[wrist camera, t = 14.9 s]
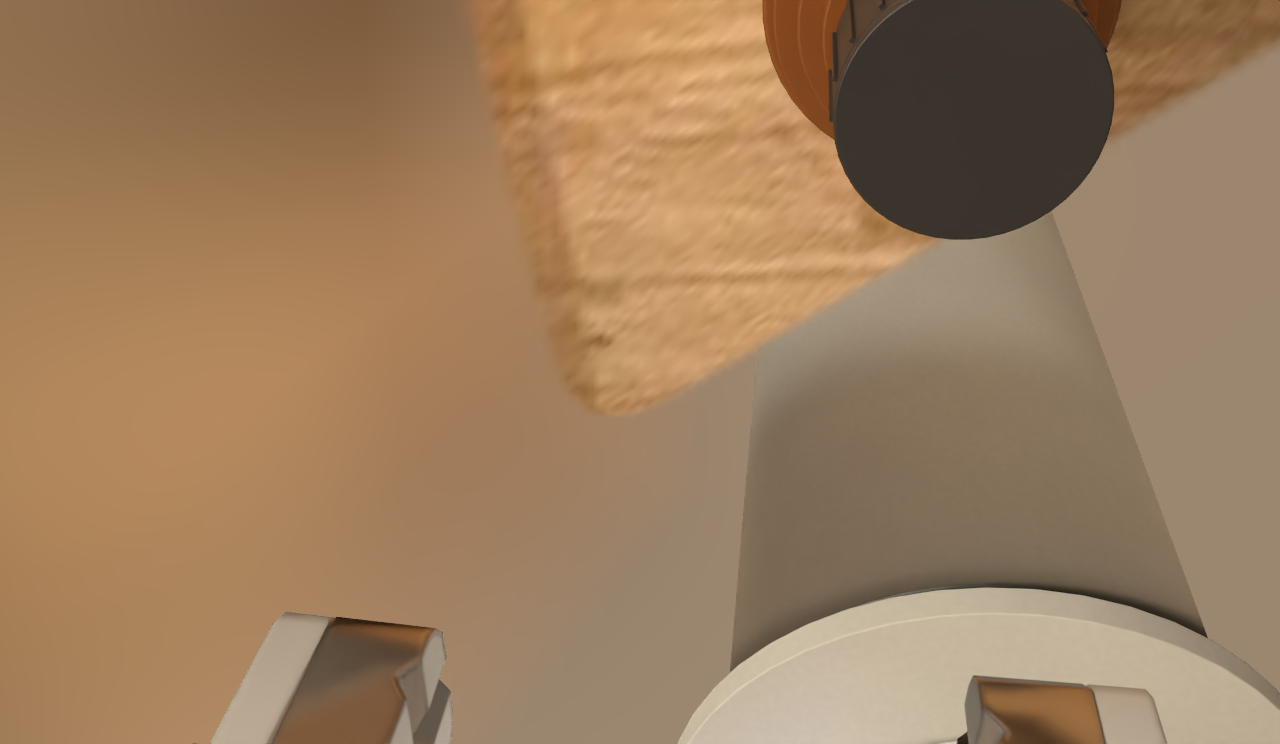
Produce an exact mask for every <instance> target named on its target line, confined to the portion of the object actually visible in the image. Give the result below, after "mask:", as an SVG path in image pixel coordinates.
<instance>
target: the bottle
mask: <svg viewBox="0 0 1280 744" xmlns="http://www.w3.org/2000/svg"><path fill="white" fill-rule="evenodd" d="M1080 1H1081V2H1082V4H1083V6H1084V7H1085V9H1086V10H1087V12H1088V14H1089V15H1088V16H1087V17H1088V18H1089V20H1090V22H1091V23H1092V25H1093V26H1094V28H1095V30H1096V31H1097V33H1098V35H1099V36H1100V38H1101V39H1102V41H1103V43H1104V44H1105V46H1106V48H1107V47H1108V45H1109V42H1110V40H1111V37H1112V35H1113V33H1114V30H1115V26H1116V23H1117V19H1118V15H1119V12H1120V8H1121V1H1122V0H1080ZM846 4H847V2H846V0H763V23H764V30H765V37H766V42H767V46H768V49H769V53H770V56H771V60H772V63H773V65H774V67H775V70H776V72H777V74H778V76H779V79H780V81H781V83H782V84H783V86H784V88H785V89H786V91H787V92H788V94H789V96H790V97H791V99H792V100H793V102H794V103H795V104H796V105H797V106H798V108H799V109H800V110H801V111H802V113H803V114H804V115H805V116H806V117H807V118H808V119H809V120H810V121H811V122H812V123H814V124H815V125H816V126H817V127H818V128H819V129H820V130H821V131H823V132H824V133H826V134H827V135H828V136H830V137H831V138H833V139H834V140H835V137H834V129H833V122H829V82H828V70H832V43H831V36H832V32H836V29H837V26H838V23H839V19H840V17H841V15H842V13H843V10H844V8H845V6H846Z"/></svg>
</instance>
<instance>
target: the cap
mask: <svg viewBox="0 0 1280 744" xmlns="http://www.w3.org/2000/svg"><path fill="white" fill-rule="evenodd" d="M846 2H847V4H846V6H845V8H844V10H843V13H842V15H841V17H840V19H839V23H838V26H837V29H836V32H832V36H831V43H832V70H828V82H829V122H833V129H834V137H835V144H836V148H837V152H838V157H839V159H840V162H841V164H842V166H843V169H844V171H845V174H846V175H847V177H848V179H849V180H850V182H851V184H852V185H853V187H854V188H855V190H856V191H857V192H858V193H859V194H860V196H861V197H862V198H863V199H864V200H865V201H866V202H867V203H868V204H869V205H870V206H871V207H872V208H873V209H874V210H875V211H877V212H878V213H879V214H881V215H882V216H884V217H885V218H887V219H888V220H890V221H891V222H893V223H895V224H897V225H899V226H901V227H903V228H905V229H908V230H911V231H913V232H916V233H919V234H923V235H927V236H931V237H935V238H944V239H978V238H987V237H991V236H995V235H1000V234H1004V233H1007V232H1010V231H1012V230H1015V229H1018V228H1021V227H1023V226H1025V225H1027V224H1029V223H1031V222H1033V221H1035V220H1037V219H1039V218H1041V217H1042V216H1044V215H1045V214H1047V213H1049V212H1050V211H1052V210H1053V209H1054V208H1055V207H1056V206H1058V205H1059V204H1060V203H1062V202H1063V201H1064V200H1066V199H1067V197H1069V195H1071V193H1073V192H1074V190H1076V188H1078V186H1079V185H1080V184H1081V183H1082V182H1083V180H1084V179H1085V178H1086V176H1087V175H1088V174H1089V173H1090V171H1091V169H1092V168H1093V166H1094V165H1095V163H1096V161H1097V160H1098V158H1099V156H1100V154H1101V152H1102V149H1103V147H1104V145H1105V143H1106V140H1107V137H1108V134H1109V130H1110V127H1111V123H1112V116H1113V110H1114V84H1113V77H1112V71H1111V68H1110V64H1109V61H1108V58H1107V55H1106V53H1107V52H1108V51H1107V48H1106V46H1105V44H1104V43H1103V41H1102V39H1101V38H1100V36H1099V35H1098V33H1097V31H1096V30H1095V28H1094V26H1093V25H1092V23H1091V22H1090V20H1089V18H1088V17H1087V16H1088V15H1089V14H1088V12H1087V10H1086V9H1085V7H1084V6H1083V4H1082V2H1081V1H1080V0H846Z"/></svg>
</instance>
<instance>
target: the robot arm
mask: <svg viewBox="0 0 1280 744" xmlns="http://www.w3.org/2000/svg"><path fill="white" fill-rule="evenodd" d="M445 660H446V652H445V645H444V640H443V633H442V632H441V631H440V630H438V629H436V628H428V627H419V626H412V625H403V624H394V623H385V622H377V621H368V620H359V619H350V618H342V617H336V618H333V617H324V616H316V615H307V614H297V613H289V612H286V613H285V614H284V615H282V616H281V617H280V618H279V619H278V620H277V621H276V622H274V623H273V625H272V627H271V628H270V630H269V632H268V634H267V636H266V638H265V640H264V642H263V643H262V645H261V647H260V649H259V651H258V653H257V655H256V657H255V659H254V660H253V662H252V664H251V667H250V668H249V670H248V672H247V674H246V676H245V678H244V680H243V681H242V683H241V685H240V687H239V689H238V691H237V692H236V694H235V696H234V698H233V700H232V702H231V704H230V706H229V708H228V709H227V711H226V713H225V715H224V717H223V719H222V721H221V723H220V725H219V726H218V728H217V730H216V732H215V734H214V736H213V738H212V740H211V741H210V744H450V742H451V736H452V700H451V692H450V690H449V689H448V688H447V687H446V686H445V685H444V684H443V683H442V682H441V681H440V680H439V678H440V675H441V672H442V669H443V666H444V663H445ZM964 707H965V716H966V724H967V732H966V733H964V734H963V735H962V736H960V737H959V738H958V739H957V741H949V742H942V743H936V744H1167V741H1166V737H1165V734H1164V731H1163V728H1162V724H1161V721H1160V718H1159V714H1158V711H1157V708H1156V705H1155V701H1154V698H1153V697H1152V696H1151V695H1150V693H1149V692H1148V691H1147V690H1146V689H1140V688H1128V687H1116V686H1103V685H1091V684H1088V685H1086V686H1085V685H1083V684H1079V683H1066V682H1054V681H1041V680H1028V679H1016V678H1003V677H990V676H978V675H973V677H972V679H971V681H970V683H969V685H968V690H967V694H966V699H965V703H964Z"/></svg>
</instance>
